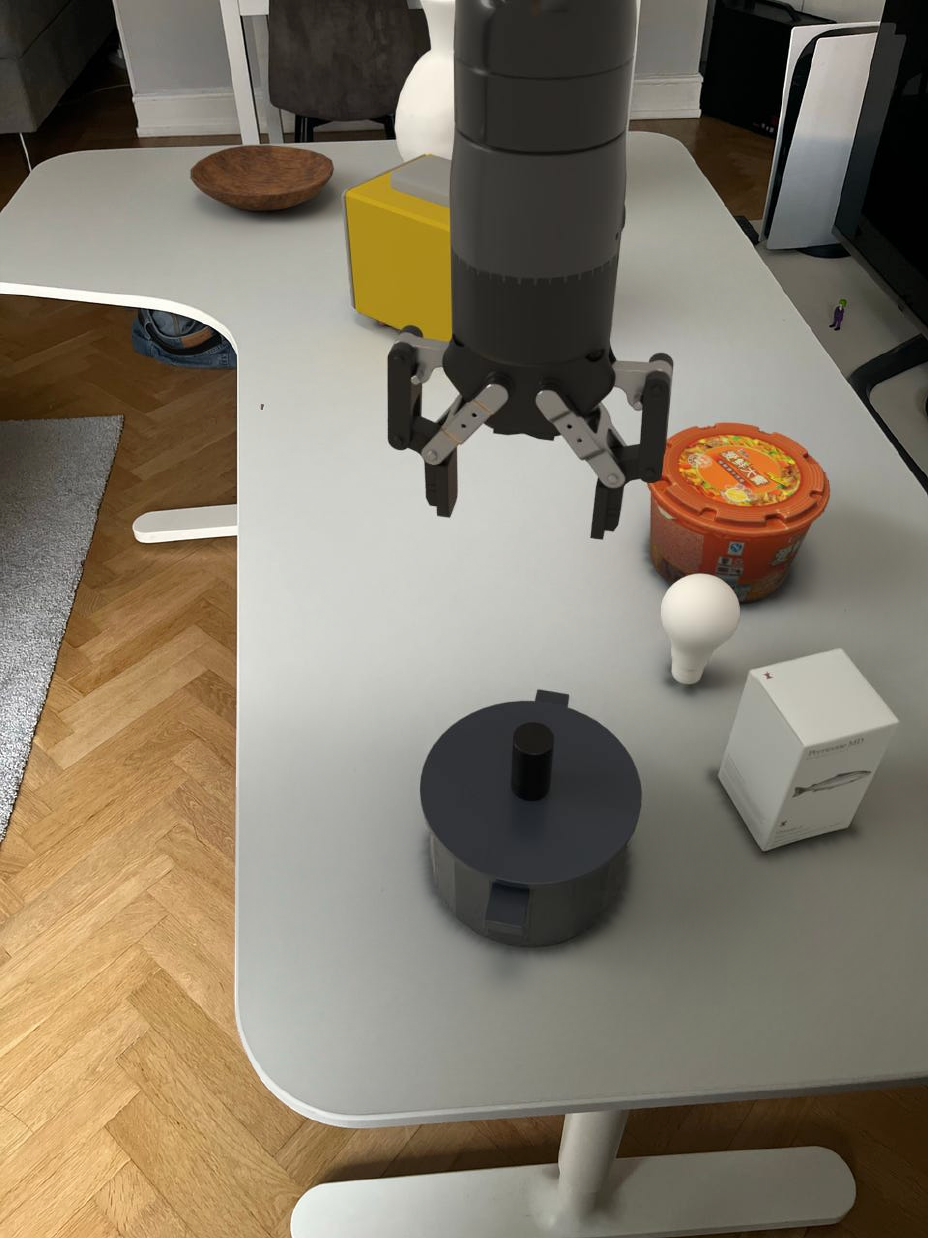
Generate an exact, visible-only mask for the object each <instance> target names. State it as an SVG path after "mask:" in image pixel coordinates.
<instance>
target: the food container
mask: <svg viewBox="0 0 928 1238" xmlns="http://www.w3.org/2000/svg"><path fill="white" fill-rule="evenodd" d="M646 485H647V488H648V491H649V492H650V507H649V508H650V513H649V514H650V517H649V519H650V523H649V524H650V527H649V529H650V530H649V531H650V532H649V553H650V559H651V562H652V564H653V566H654V568H655V570H656V571H657V572H658V574H659V575H660V576H661V577H662V579H664V580H665V582H667V583H668V584H669V585H670V586H672V585H673V584H674V583H675V582H677V581H678V580H680V579H681V578H684V577H686V576H689V575H693V574H708V575H712V576H715V577H718V578H720V579H721V580H723V581H724V582H725V583H726V584H728V585H729V586H730V587H731V589H732V590H733V591H734V593H735V594H736V596H737V599H738V602H739V604H745V603H752V602H755V601H759V600H761V599H763V598H765V597H768V596H769V595H771V594H772V593H774V592H775V591H776V590H778V588H779V587H780V586H781V585H782V583H783V582H784V580H785V578H786V576H787V574H788V573H789V570H790V568H791V566H792V565H793V562H794V560H795V559H796V556H797V554H798V552H799V550H800V548H801V546H802V544H803V542H804V540H805V538H806V536H807V534H808V532H809V530H810V529H811V526H812V524H813V523H814V521H816V520H817V519H818V518H819V517H820V516H822V514H824V512H825V510H826V508H827V507H828V504H829V500H830V497H831V487H830V486H831V485H830V479H828V476H827V473H826V472H825V471H824V469H823V468H822V466H821V465H820V463H819V462H817V461H816V459H815V458H814V457H813V456H812V455H811V454H810V453H809V452H808V450H807V449H806V447H805V446H803V445H801V444H800V443H799V442H798V441H796V440H794V439H792V438H790V437H788V436H786V435H784V434H782V433H779V432H777V431H773V432H772V433H768V432H765V430H760V427H758V426H757V425H753V424H748V423H741V422H725V421H724V422H716V423H715V424H714V425H711V426H710V425H707V426H702V427H699V426H698V425H695V426H691V427H687V428H686V429H683V430H680V431H678V432H677V433H675V434H673V435H671V436H670V437H669V438H668V437H667V443H666V451H665V455H664V462H663V472H662V477H661V479H660V480H659V481H657V482H655V483H646Z"/></svg>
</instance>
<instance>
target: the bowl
mask: <svg viewBox="0 0 928 1238" xmlns="http://www.w3.org/2000/svg"><path fill="white" fill-rule="evenodd" d="M334 171H335V167H334V163H333V159H331V158H329V156H328V157H327V155H324V154H323V153H319V152H316V151H313V150H311V149H305V148H299V147H292V146H281V145H273V144H272V145H270V144H265V145H264V144H262V145H261V144H259V145H257V144H256V145H253V144H252V145H240V146H234V147H233V146H232V147H229V148H225V149H221V150H219V151H215V152H214V153H210V154H209V155H207V156H205V157H204V158H202V159H200V160H199V161H197V162H196V163H195V164H194V165H193V166H192V167H191V169H190V173H189V178H190V180H191V181H192V183H193V184H194V185H195V186H196V187H197V189H198V190H200V191H201V192H202V193H203V194H204V195H206V196H208V197H209V198H211V199H213V200H215V201H217V202H218V203H221V204H224V205H227V206H229V207H232V208H234V209H240V210H249V211H253V212H254V211H256V212H258V211H259V212H260V211H274V210H276V211H277V210H283V209H284V210H285V209H288V208H289V209H290V208H292V207H295V206H297V205H299V204H302V203H305V202H307V201H310V200H313V199H314V198H315V197H317V195H319V194H320V193H321V191H322V190H323V189H324V188H325V186H327V184H328V182H329V181H330V180H331V178H332V177H333V175H334Z"/></svg>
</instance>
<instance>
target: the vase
mask: <svg viewBox="0 0 928 1238" xmlns="http://www.w3.org/2000/svg"><path fill="white" fill-rule="evenodd" d="M419 1H420V4H421V7H422V9H423V11H424V14H425V18H426V21H427V26H428V35H429V40H430V50H428V51H427V52H426V53H424V54H423V55H422V56H421V57H420V58H419V59H418V60H417V61H416V63H415V64H414V65H413V68H412V69H411V71H410V73H409V75H408V76H407V78H406V79H405V82H404V83H403V84H404V85H403V87H402V90H401V91H400V94H399V98H398V101H397V102H398V103H397V106H396V109H395V119H394V121H395V123H394V132H395V141H396V145H397V149H398V152H399V155H400V157H401V159H402V160H403V163H405V162H407V161H409V160H412V159H414V158H416V157H418V156H420V155H423V154H426V155H428V154H432V155H436V156H439V157H442V158H446V159H449V160H452V153H453V144H454V125H455V122H454V55H453V54H454V51H453V44H454V21H455V0H419Z"/></svg>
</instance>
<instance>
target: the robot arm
mask: <svg viewBox="0 0 928 1238" xmlns="http://www.w3.org/2000/svg"><path fill="white" fill-rule="evenodd" d="M637 2H638V1H637V0H455V21H454V44H453V51H454V54H453V55H454V122H455V125H454V144H453V153H452V161H451V169H450V188H449V195H450V251H451V312H452V337H451V340H450V341H449V342H446V341H440V340H434V339H428V338H424V337H423V333H422V331H421V330H420V329H419V328H418V327H416V326H414V325H407V326H405V327H403V328H402V330H400V331H399V334H398V336H397V337H396V340H395V341H394V343H393V345H392V347H391V348H390V350H389V352H388V354H387V358H386V359H387V362H386V363H387V364H386V365H387V367H386V368H387V369H386V370H387V376H386V377H387V387H386V388H387V442H388V444H389V445H390V447H391V448H393V449H394V450H396V451H405V450H407V449H409V450H411V451H414V452H416V453H417V454H419V455H420V456H421V458H422V460H423V463H424V467H423V468H424V483H425V484H424V487H425V488H424V489H425V499H426V502H427V504H428V505H429V507H436V517H440V518H447V519H450V518H451V517H452V515H453V512H454V510H455V506H456V504H457V500H458V494H459V485H458V484H459V481H458V480H459V479H458V477H459V476H458V473H459V472H458V446H459V445H460V446H462V445H463V444H464V443H466V441H467V440H469V438H470V437H471V436H472V435H473V434H475V432H477V430H479V428H480V427H481V426H482V425H485V426H486V427H488V428H490V429H492V434H493V435H494V434H495V435H500V436H501V435H502V436H515V435H526V436H528V437H531V438H534V439H537V440H541V441H550V442H554V441H555V439H556V438H555V437H559V436H560V437H561V436H562V438H563V439H564V441H565V442H566V444H567V445H568V447H570V449H571V450H572V451H573V453H574V454H575V455H576V457H577V458H578V459H579V460H580V461H586V462H587V464H588V465H589V466H590V468H591V469H592V471H593V472H594V473H595V476H597V480H596V483H595V491H594V499H593V509H592V518H591V527H590V534H589V535H590V539H594V540H604V537H605V533H606V531H607V532H611V533H612V532H615V531H616V529H617V528H618V526H619V522H620V518H621V513H622V506H623V498H624V491H625V486H626V485H627V484H628V483H630V482H632V481H637V480H641V481H642V482H643V483H646V484H647V483H655V482H657V481H659V480H660V479H661V477H662V472H663V462H664V455H665V451H666V443H667V439H668V431H669V419H670V407H671V396H672V386H673V375H674V360H673V358H672V356H671V355H670V354H668V353H665V352H657V353H654V354H653V355H651V356H650V358H649V360H648V362H647V361H633V360H617V358H616V355H615V353H614V351H613V349H612V344H611V337H612V336H611V335H612V327H613V316H614V307H615V299H616V289H617V278H618V271H619V270H618V269H619V260H620V250H621V242H622V241H621V240H622V234H623V231H624V228H625V226H626V217H627V209H626V196H627V195H626V194H627V139H626V138H627V125H628V117H629V109H630V108H629V107H630V97H631V88H632V79H633V78H632V77H633V71H634V70H633V68H634V60H635V59H634V58H635V55H634V54H635V48H636V39H637V22H638V20H637V19H638V5H637ZM438 368H442V370H443V372H444V374H445V376H446V377H447V378H448V380H449V382H450V383H451V384H452V386H454V388H455V389H456V391H457V392H458V393H459V394H458V395H457V396H456V397H455V399H454V400H453V402H452V403H451V405H450V406H449V407H448V408H447V409H446V410H445V411H444V412H443V413H442V414H441V415H440V416H439V417H438V419H437V420H436V421H433V420H431V419H428V418H426V417H424V416H422V413H423V384H425V383H427V382H428V381H429V380H430V378H431V376H432V374H433V372H434V370H435V369H438ZM614 388H618V389H619V390H622V391H623V392H624V393H625V395H626V400H627V403H628V405H629V406H630V407H631V408H632V409H633V410H634V411H636V412H640V411H641V419H640V421H641V422H640V437H639V443H636V444H630V445H628V443H626V442H625V440H624V439H623V437H622V436H621V435H620V433H619V431H618V430H617V428H616V427H615V426H614V424H613V422H612V417H611V415H610V413H609V410H608V409H607V407H606V406H605V405H604V403H603V402H602V401H603V400H604V399H606V397H608V396H609V395H610V394H611V392H612V391H613V389H614Z"/></svg>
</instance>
